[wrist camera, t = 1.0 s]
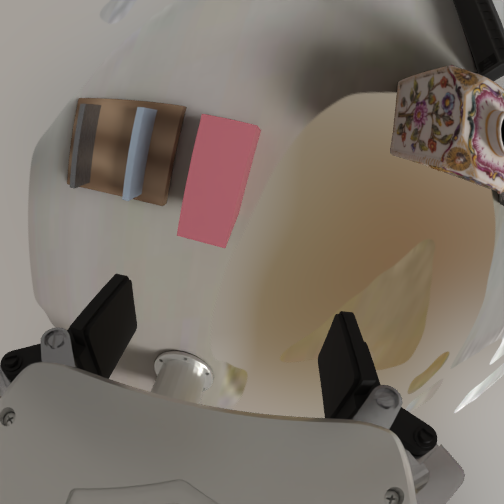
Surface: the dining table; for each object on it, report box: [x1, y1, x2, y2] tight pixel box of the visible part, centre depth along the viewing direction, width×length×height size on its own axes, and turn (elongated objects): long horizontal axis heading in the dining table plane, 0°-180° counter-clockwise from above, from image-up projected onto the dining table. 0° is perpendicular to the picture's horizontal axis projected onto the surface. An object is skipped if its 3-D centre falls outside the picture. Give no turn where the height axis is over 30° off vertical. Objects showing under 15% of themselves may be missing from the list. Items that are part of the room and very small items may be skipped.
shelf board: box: [67, 98, 186, 206], centre depth 33 cm, size 14×18×2 cm
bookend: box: [70, 104, 101, 188], centre depth 31 cm, size 12×1×4 cm, turn 166°
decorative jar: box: [390, 65, 504, 194], centre depth 22 cm, size 12×12×18 cm
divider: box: [122, 107, 157, 201], centre depth 31 cm, size 12×1×4 cm, turn 166°
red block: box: [177, 114, 261, 248], centre depth 30 cm, size 12×5×12 cm, turn 165°
